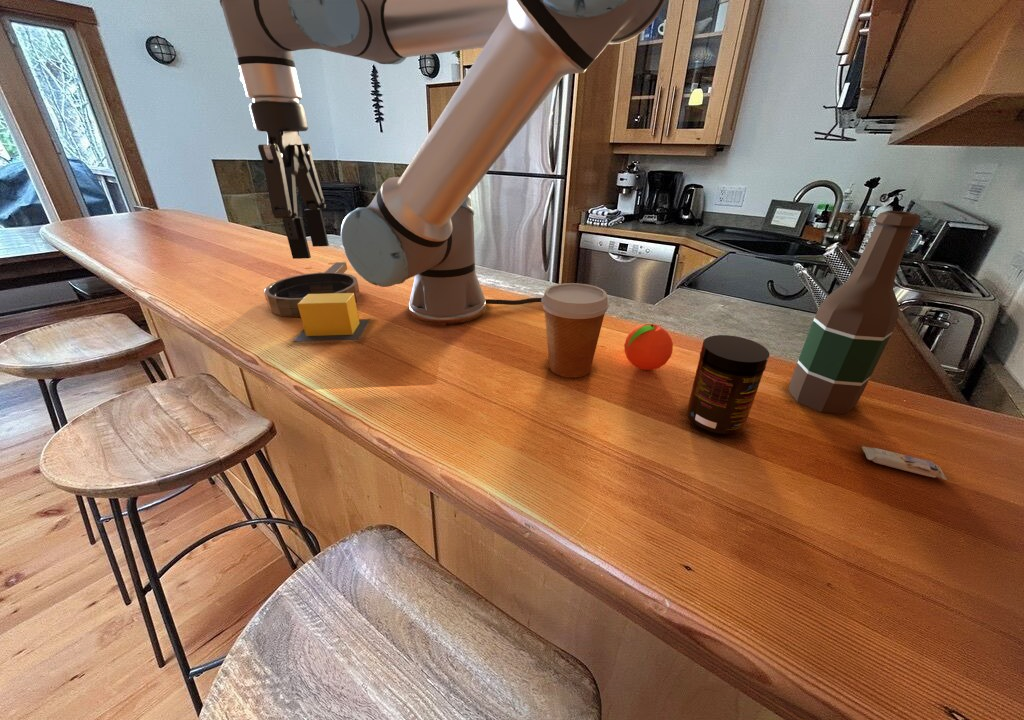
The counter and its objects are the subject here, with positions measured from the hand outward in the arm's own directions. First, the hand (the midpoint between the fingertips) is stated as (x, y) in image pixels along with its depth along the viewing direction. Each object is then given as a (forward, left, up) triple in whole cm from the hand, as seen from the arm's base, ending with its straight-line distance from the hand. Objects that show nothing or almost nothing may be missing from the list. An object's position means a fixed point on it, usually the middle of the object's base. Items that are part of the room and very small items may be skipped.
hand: (311, 251), depth 73 cm
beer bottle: (-75, +33, -13) cm, 83 cm away
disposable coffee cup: (-43, +22, -13) cm, 50 cm away
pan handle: (+5, -23, -11) cm, 26 cm away
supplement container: (-58, +37, -13) cm, 70 cm away
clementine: (-54, +23, -13) cm, 60 cm away
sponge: (-3, +6, -13) cm, 14 cm away
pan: (+5, -9, -13) cm, 17 cm away
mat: (-3, +6, -13) cm, 15 cm away
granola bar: (-74, +46, -13) cm, 88 cm away
